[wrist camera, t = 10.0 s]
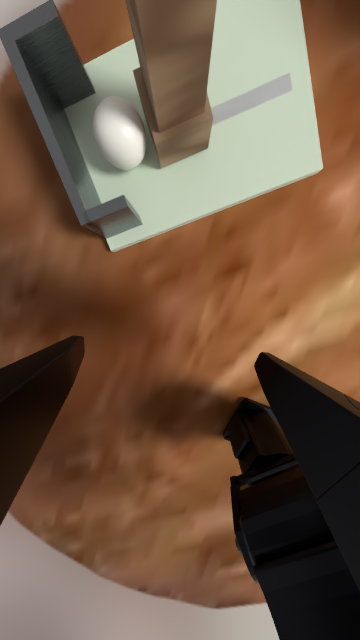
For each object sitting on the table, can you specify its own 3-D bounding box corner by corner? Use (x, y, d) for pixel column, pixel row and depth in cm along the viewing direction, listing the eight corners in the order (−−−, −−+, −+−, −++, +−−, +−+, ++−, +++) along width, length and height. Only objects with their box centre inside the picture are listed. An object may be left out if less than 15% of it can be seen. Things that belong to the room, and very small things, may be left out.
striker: (192, 87, 14) (223, -806, 3) (207, 148, 15) (284, -295, 3) (143, 111, 15) (-27, -550, 3) (161, 168, 16) (86, -161, 4)
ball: (132, 85, 11) (76, 113, 11) (156, 164, 14) (112, 184, 15) (131, 84, 13) (84, 108, 14) (152, 152, 16) (113, 170, 17)
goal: (91, 81, 15) (52, -2, 10) (142, 224, 17) (128, 206, 13) (51, 101, 15) (-3, 30, 11) (107, 238, 18) (80, 225, 13)
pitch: (287, -27, 13) (293, -45, 13) (316, 173, 16) (322, 168, 16) (50, 95, 16) (43, 85, 15) (114, 252, 19) (110, 250, 18)
